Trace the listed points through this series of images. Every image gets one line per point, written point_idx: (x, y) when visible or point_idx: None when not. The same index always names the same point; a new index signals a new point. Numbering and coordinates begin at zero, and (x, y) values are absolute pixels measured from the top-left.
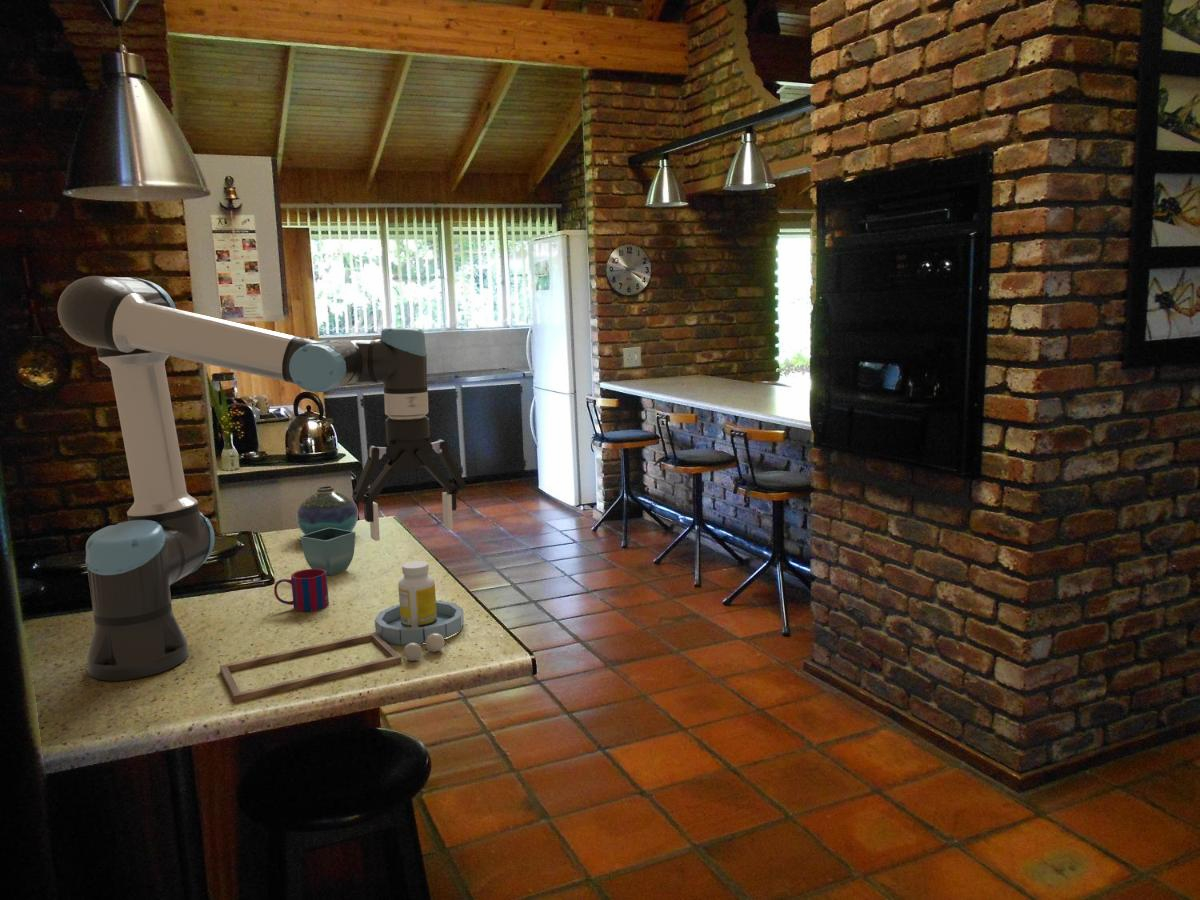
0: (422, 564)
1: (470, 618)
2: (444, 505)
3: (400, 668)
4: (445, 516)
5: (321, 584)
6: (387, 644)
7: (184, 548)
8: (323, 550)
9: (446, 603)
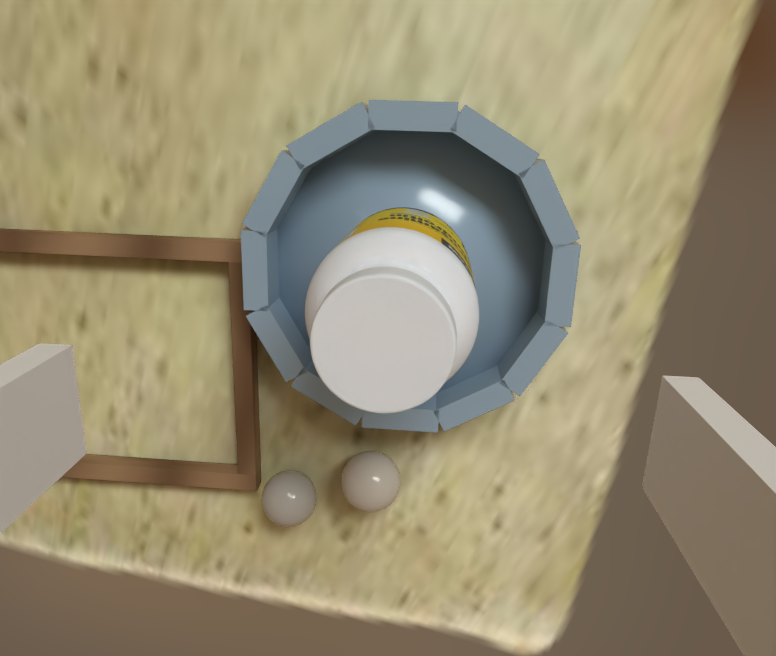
0: (415, 373)
1: (609, 271)
2: (755, 541)
3: (247, 510)
4: (696, 483)
5: None
6: (250, 376)
7: None
8: None
9: (552, 223)
